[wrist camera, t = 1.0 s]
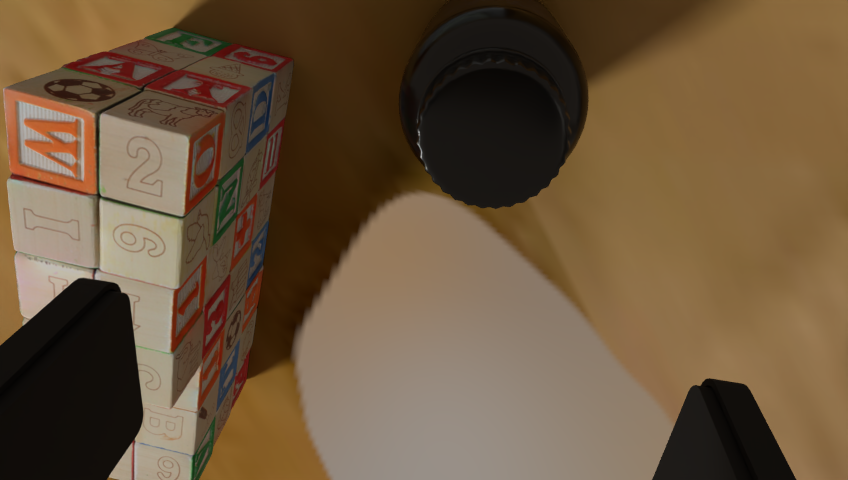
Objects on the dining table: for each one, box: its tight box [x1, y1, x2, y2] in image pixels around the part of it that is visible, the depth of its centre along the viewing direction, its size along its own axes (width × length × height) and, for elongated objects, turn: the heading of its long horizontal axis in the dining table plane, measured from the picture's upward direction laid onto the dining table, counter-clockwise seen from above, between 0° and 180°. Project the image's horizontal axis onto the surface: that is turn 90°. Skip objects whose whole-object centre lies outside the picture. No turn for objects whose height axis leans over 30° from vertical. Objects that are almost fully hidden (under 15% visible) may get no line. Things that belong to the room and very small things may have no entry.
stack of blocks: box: [3, 28, 294, 480], centre depth 31 cm, size 21×6×12 cm, turn 167°
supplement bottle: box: [399, 0, 588, 209], centre depth 25 cm, size 7×7×12 cm
